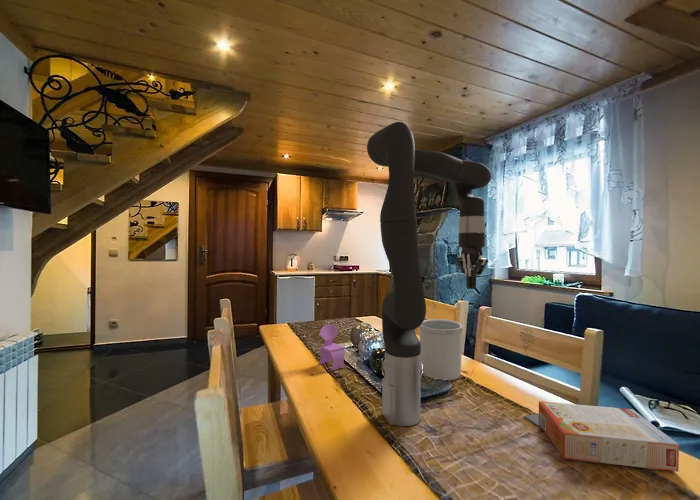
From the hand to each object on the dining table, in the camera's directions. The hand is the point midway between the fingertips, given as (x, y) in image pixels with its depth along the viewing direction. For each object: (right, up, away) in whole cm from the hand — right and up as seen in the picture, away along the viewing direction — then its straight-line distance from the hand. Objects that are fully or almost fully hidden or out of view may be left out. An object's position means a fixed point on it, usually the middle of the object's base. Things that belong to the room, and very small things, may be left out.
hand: (471, 288), depth 98 cm
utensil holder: (-5, -32, +16) cm, 36 cm away
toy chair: (-44, -32, +22) cm, 59 cm away
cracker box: (+9, -29, -24) cm, 39 cm away
